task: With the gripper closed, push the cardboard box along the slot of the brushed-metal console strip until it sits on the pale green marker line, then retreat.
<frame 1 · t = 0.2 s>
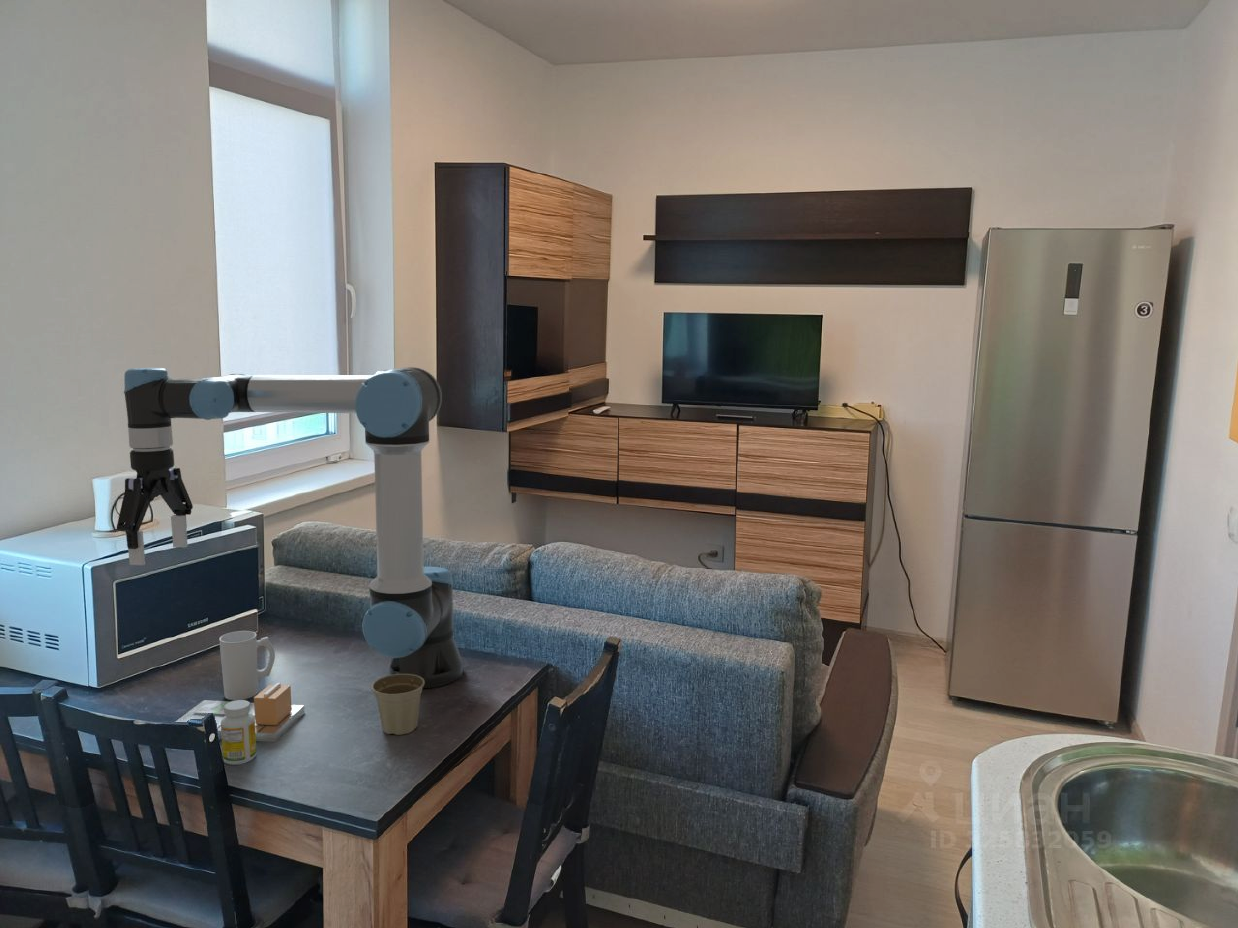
hand: (159, 555, 179), 28 cm above the table, fingers open, 13 cm apart
flower pot: (399, 729, 167), on the table
supplement bottle: (240, 758, 155), on the table
console: (238, 724, 168), on the table
cardboard box: (273, 702, 167), point 5 cm above the table, slide at 0.0 cm
mug: (250, 693, 182), on the table
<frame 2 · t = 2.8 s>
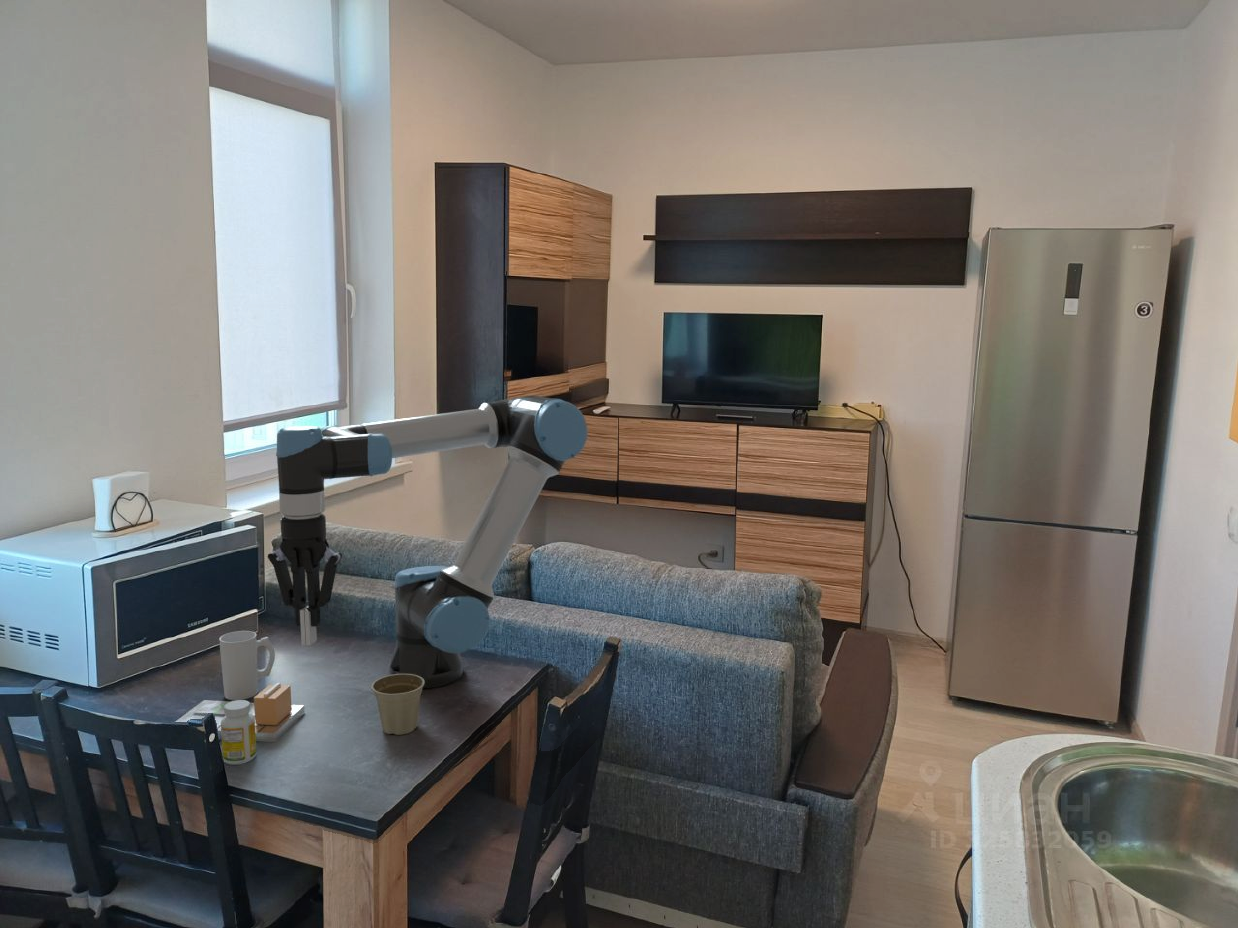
hand: (309, 642, 164), 16 cm above the table, fingers closed
nothing on the table moved.
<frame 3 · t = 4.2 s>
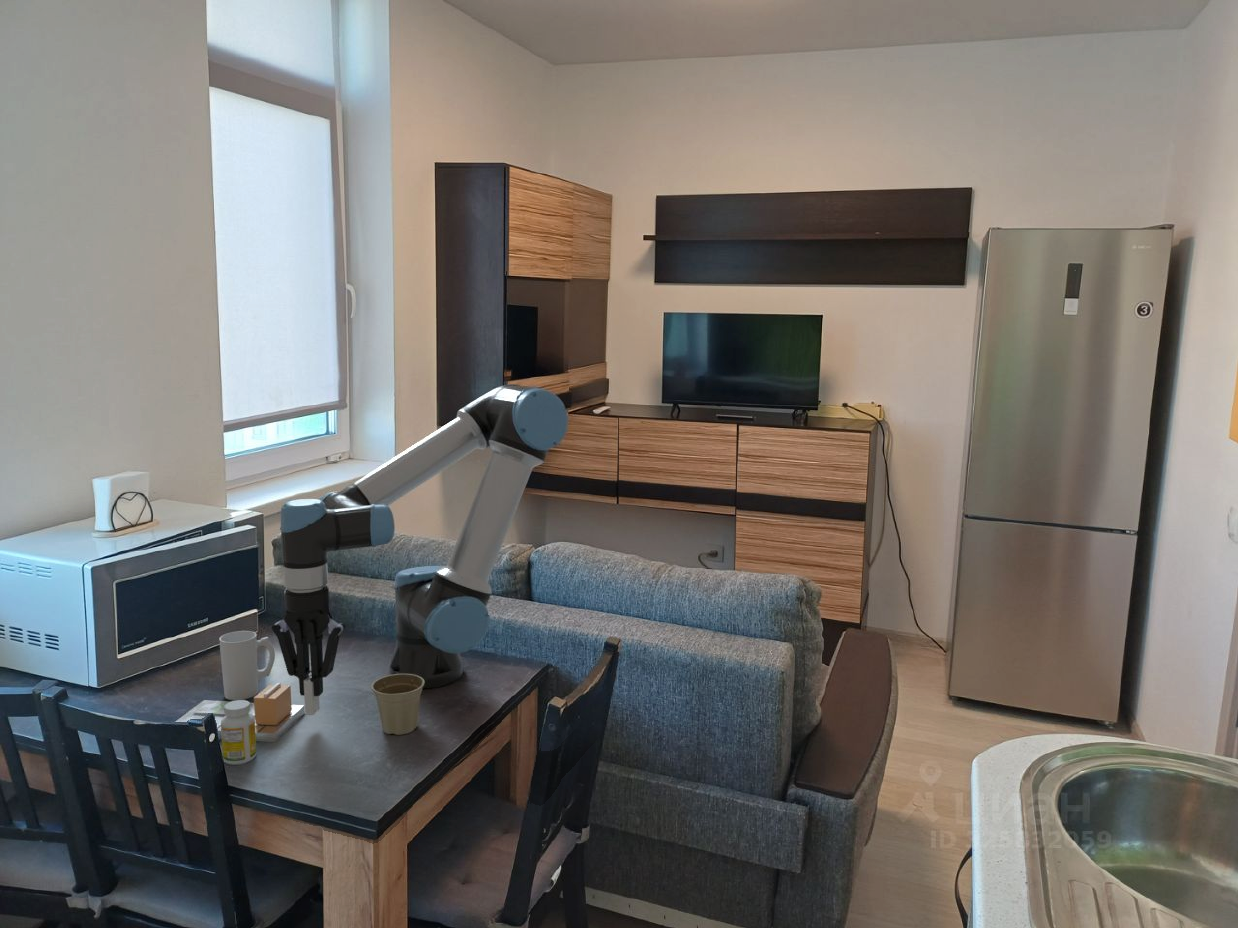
hand: (312, 711, 166), 3 cm above the table, fingers closed
nothing on the table moved.
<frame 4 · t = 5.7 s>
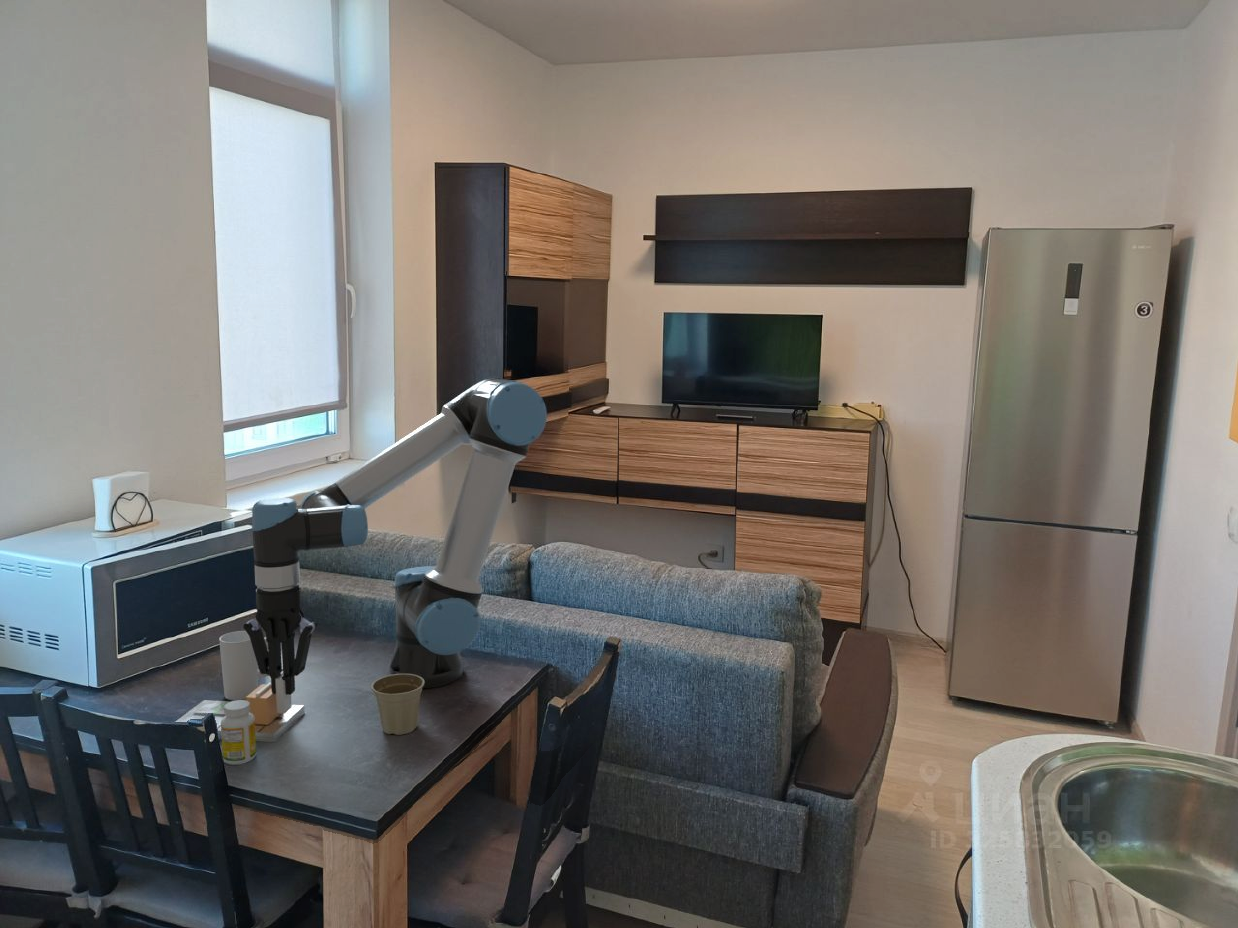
hand: (284, 709, 167), 3 cm above the table, fingers closed
cardboard box: (265, 702, 167), point 5 cm above the table, slide at 1.5 cm, touching gripper
everything else where it was.
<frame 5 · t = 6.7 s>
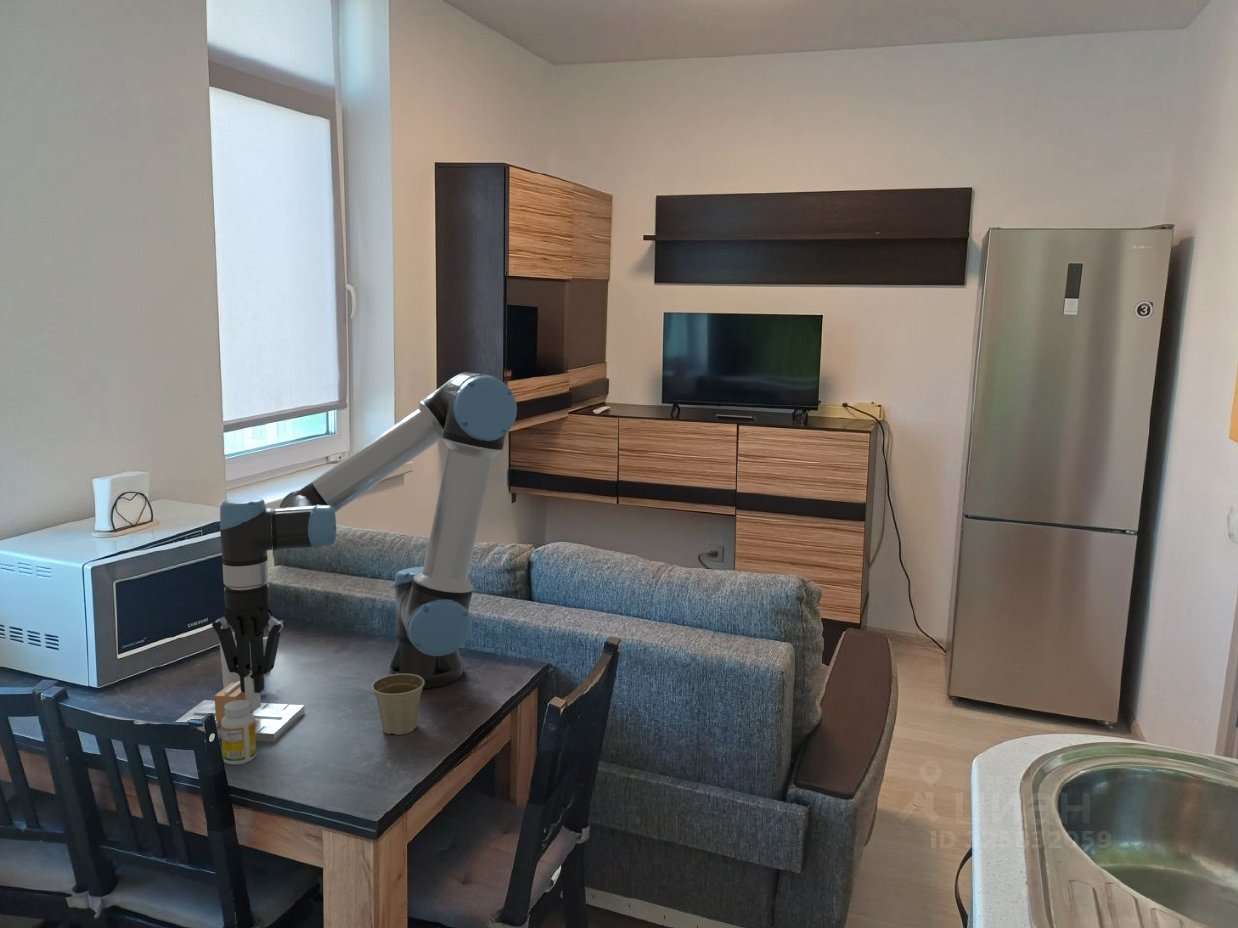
hand: (253, 708, 167), 3 cm above the table, fingers closed
cardboard box: (234, 700, 167), point 5 cm above the table, slide at 7.4 cm, touching gripper
everything else where it was.
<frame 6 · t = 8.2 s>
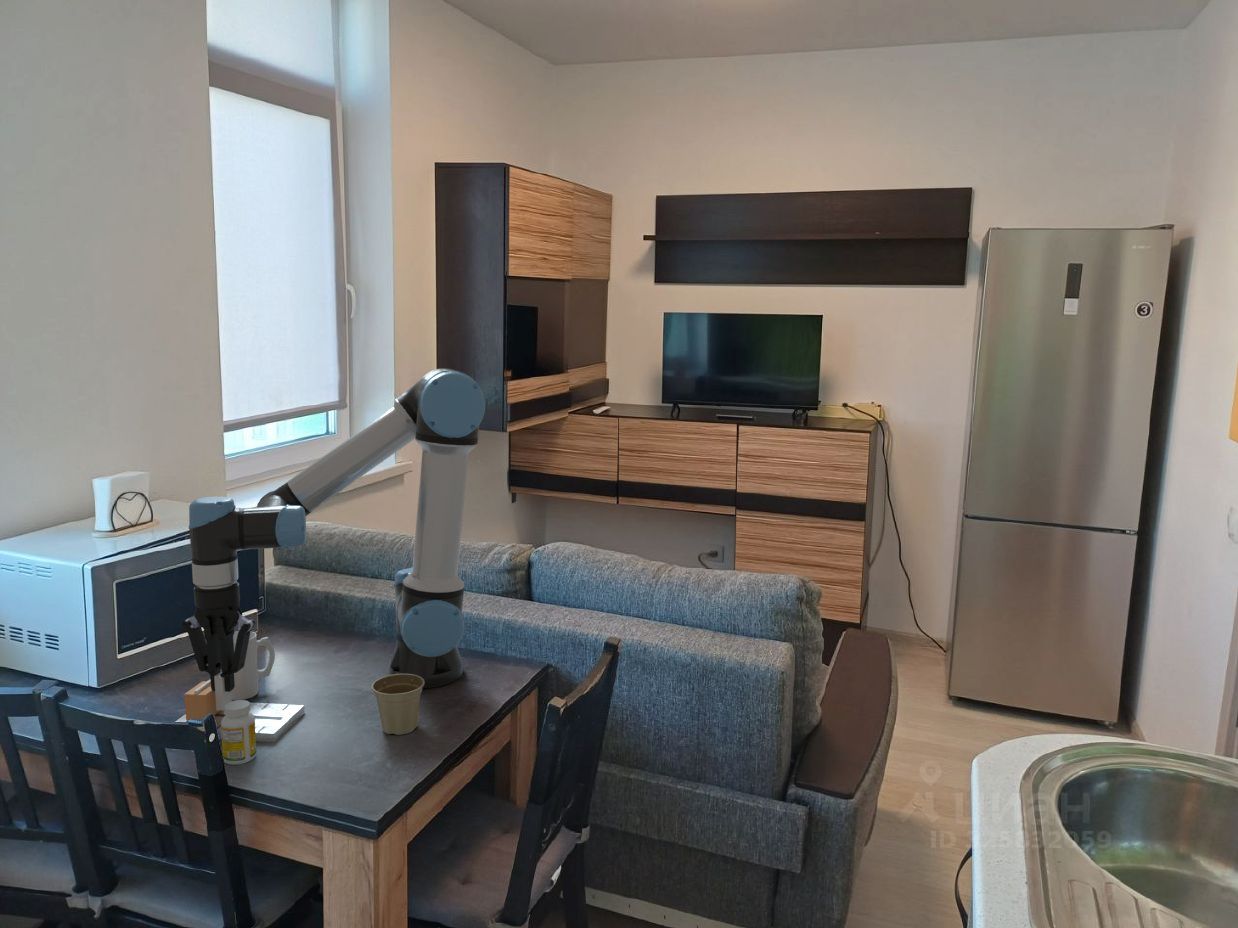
hand: (224, 706, 168), 3 cm above the table, fingers closed
cardboard box: (204, 699, 168), point 5 cm above the table, slide at 13.2 cm, touching gripper
everything else where it was.
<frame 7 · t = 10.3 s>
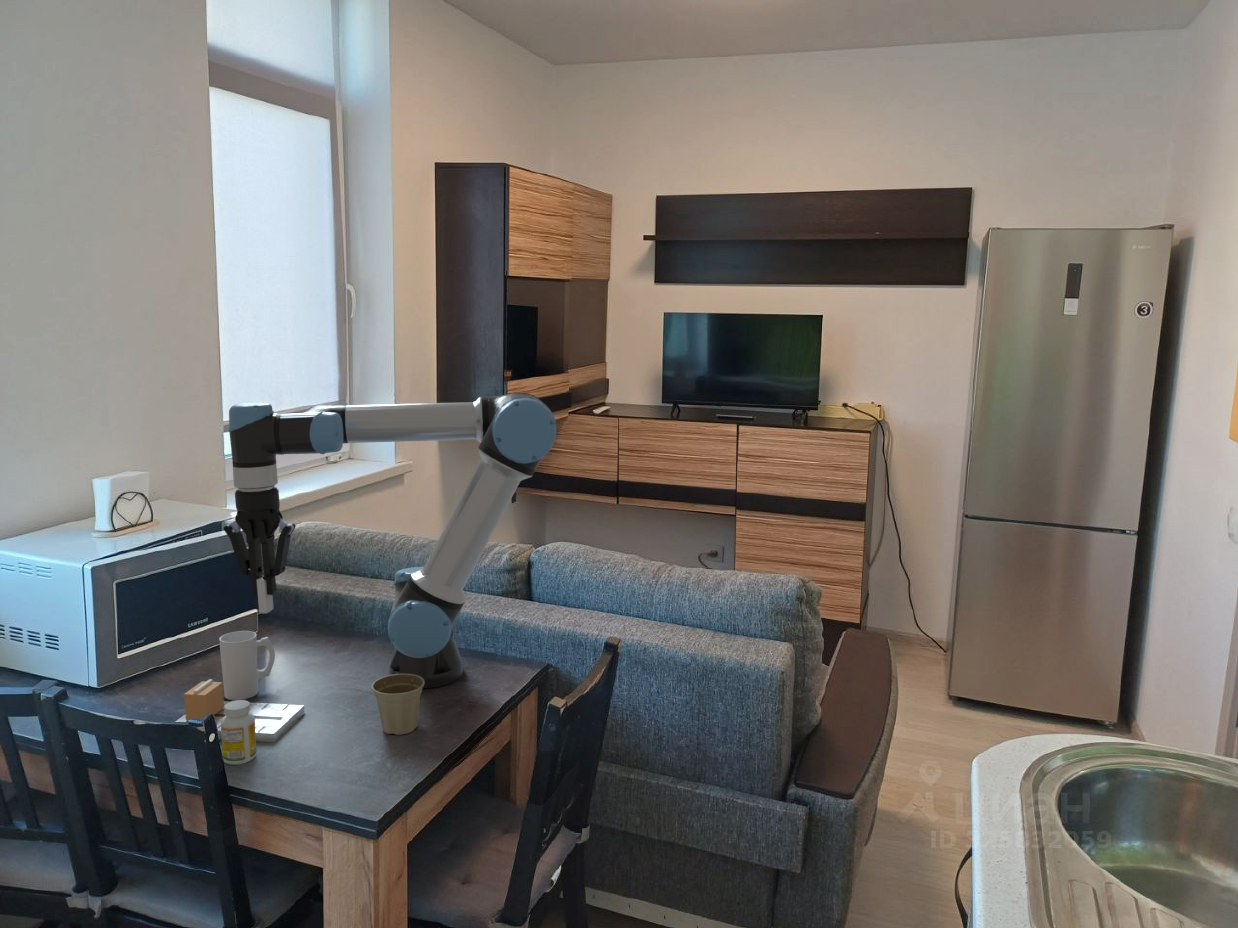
hand: (266, 610, 171), 20 cm above the table, fingers closed
cardboard box: (204, 699, 168), point 5 cm above the table, slide at 13.3 cm
everything else where it was.
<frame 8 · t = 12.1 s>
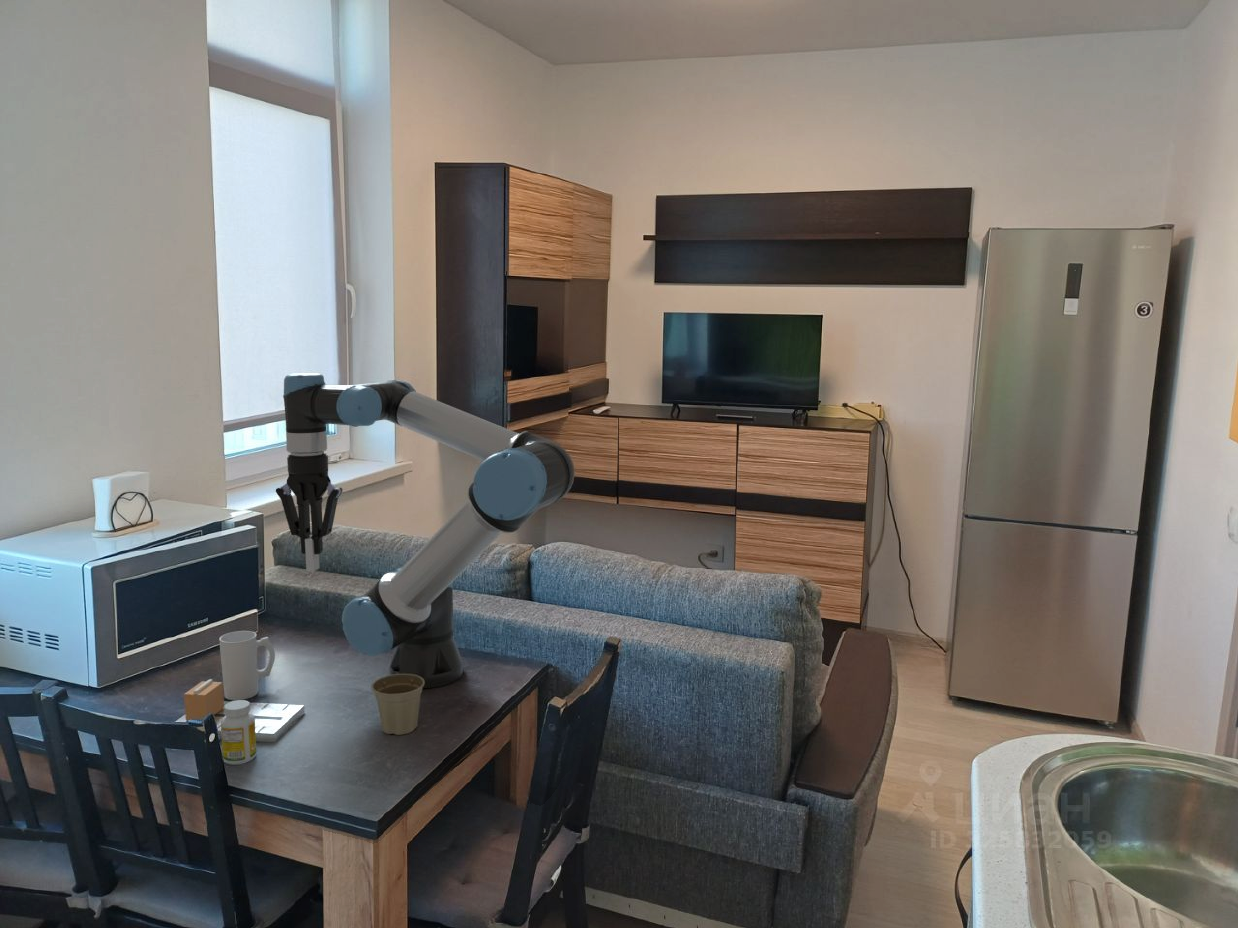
hand: (313, 569, 182), 24 cm above the table, fingers closed
nothing on the table moved.
at the end: cardboard box slide at 13.3 cm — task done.
